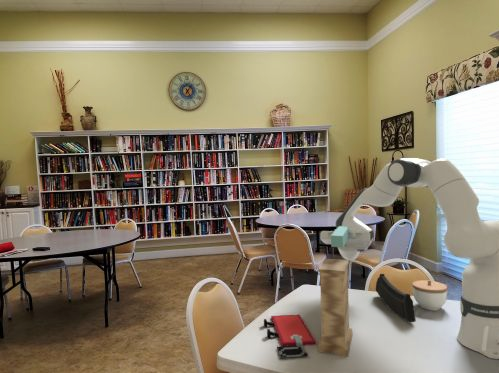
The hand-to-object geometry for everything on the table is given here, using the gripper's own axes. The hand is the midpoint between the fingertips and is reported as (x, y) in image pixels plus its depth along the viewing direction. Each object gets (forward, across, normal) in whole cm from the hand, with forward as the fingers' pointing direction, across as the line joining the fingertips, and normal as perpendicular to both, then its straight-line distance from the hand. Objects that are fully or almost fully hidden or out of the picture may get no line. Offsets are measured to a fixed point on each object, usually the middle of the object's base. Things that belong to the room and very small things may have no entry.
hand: (343, 231), depth 134 cm
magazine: (-24, +18, +24) cm, 38 cm away
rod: (+6, 0, +6) cm, 8 cm away
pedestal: (+7, 0, +42) cm, 42 cm away
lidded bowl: (-29, +32, +21) cm, 48 cm away
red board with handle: (+7, -16, +42) cm, 46 cm away
